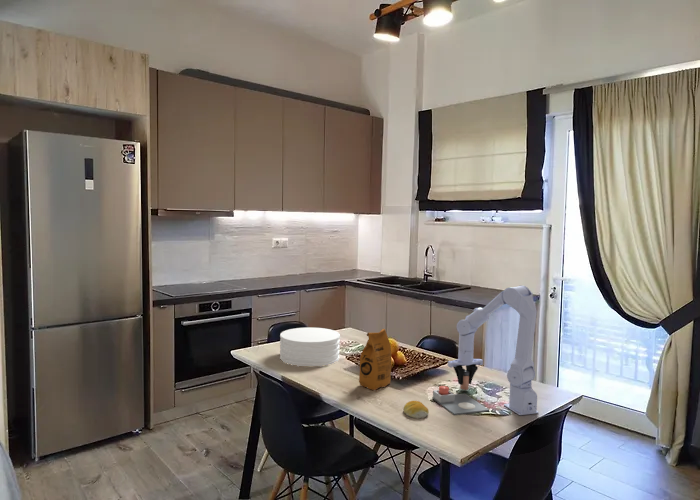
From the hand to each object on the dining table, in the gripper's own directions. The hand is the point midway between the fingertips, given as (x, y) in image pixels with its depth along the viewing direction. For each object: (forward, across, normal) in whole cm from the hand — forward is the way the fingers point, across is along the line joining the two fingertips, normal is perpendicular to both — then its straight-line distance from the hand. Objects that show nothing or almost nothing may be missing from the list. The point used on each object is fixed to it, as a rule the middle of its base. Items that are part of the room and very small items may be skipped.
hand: (464, 383), depth 193 cm
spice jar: (+2, 0, 0) cm, 2 cm away
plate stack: (+3, +49, -57) cm, 75 cm away
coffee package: (+3, +32, -15) cm, 36 cm away
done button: (+1, +13, +7) cm, 15 cm away
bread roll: (+3, +28, +15) cm, 32 cm away
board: (+3, +9, +12) cm, 15 cm away
